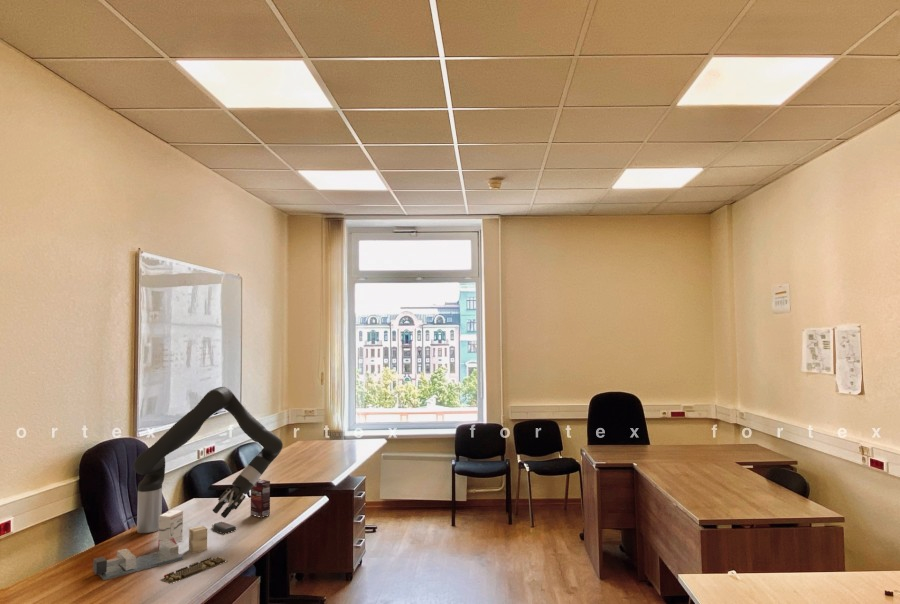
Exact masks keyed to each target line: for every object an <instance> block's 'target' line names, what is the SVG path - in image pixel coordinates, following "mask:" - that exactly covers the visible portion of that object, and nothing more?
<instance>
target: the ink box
mask: <svg viewBox="0 0 900 604" xmlns="http://www.w3.org/2000/svg"><path fill="white" fill-rule="evenodd" d="M183 524H184V510H177V509H171V510H169V511H168V512H165V513H162V515H160V516H159V530H158V548H159V541H161V540H165V539H169V540H170V541H172V542H173V543H175V544H177V543H180V542H181V541H183V539H184V538H183V537H184V536H183V531H184V529H183V527H184V525H183Z"/></svg>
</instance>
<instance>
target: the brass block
mask: <svg viewBox="0 0 900 604" xmlns="http://www.w3.org/2000/svg"><path fill="white" fill-rule="evenodd" d="M188 551H190V552H191V553H192V554H195V553H199V552H204V551H208V527H205V526H204V525H200V526H195V527H191V528H189V529H188Z"/></svg>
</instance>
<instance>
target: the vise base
mask: <svg viewBox="0 0 900 604" xmlns="http://www.w3.org/2000/svg"><path fill="white" fill-rule="evenodd" d="M158 549H159V550H158V551H157V552H152V553H149V554H144V555H141V556H137V557H136V556H135V557H136V567H135V568H134V569H130V570H125V569H124V568H123V567H122V566H121V565H120V564H118V565H114V566H110V567H107V572H105V573H102V574H98V576H100V578H101V580H103V581H107V580H110V579H114V578H115V579H116V578H118V577H122V576H126V575H129V574H128V573H130V574H132V572H133V573H136V572H135V571H137V572H140V571H139V570H141V571H144V570H143V569H145V570H147V569H146V568H148V569H151V568H150V567H152V568H155V567H154V566H156V567H160V566H163V565H167V564H170V563H174V562H179V561H181V560H183V558H184V557H183V555H181V554H180V553H179V545H177V543H173V542H172V541H170V540H169V539H165V540H161V541H159V547H158ZM159 565H160V566H159ZM125 574H126V575H125Z"/></svg>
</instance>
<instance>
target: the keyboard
mask: <svg viewBox="0 0 900 604" xmlns="http://www.w3.org/2000/svg"><path fill="white" fill-rule="evenodd" d="M225 561H226V558H223V557H220V556H216V557H213V558H212V557H207V558H205V559H202V560H200V561H199V562H198V561H197V562H194V563H191V564H190V565H189V566H188V565H187V566H184V567H181V568H179V569H176V570H175V572H174V571H171V572H169V573H165V574H164V575H163V577H162V578H161V579H160V581H161V582H163V583H167V582H168V583H167V584H170V583H172V584H174V583H173V582H175V583H177V582H180V581H182V580H185V579H187V578H190V577H192V576H195V575H197V574H200V573H202V572H205V571H208V570H210V569H212V568H215V567H217V565H218V566H220V565H221V564H220V563H222V564H224V563H223V562H225ZM225 563H226V562H225ZM219 564H220V565H219ZM179 580H180V581H179ZM176 581H177V582H176Z"/></svg>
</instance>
